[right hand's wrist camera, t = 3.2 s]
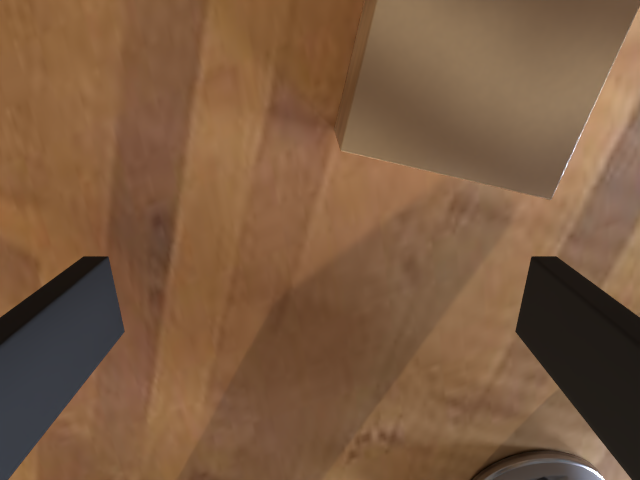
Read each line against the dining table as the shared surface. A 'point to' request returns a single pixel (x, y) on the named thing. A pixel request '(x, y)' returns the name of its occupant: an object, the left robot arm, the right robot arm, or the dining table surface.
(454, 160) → the cabinet
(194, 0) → the dining table surface
